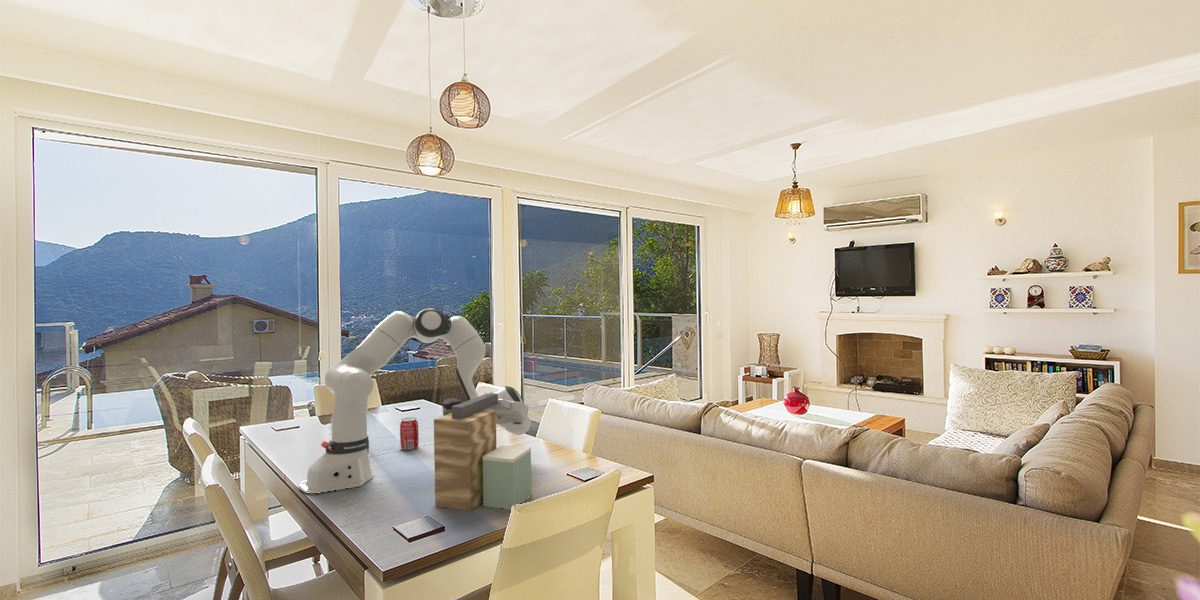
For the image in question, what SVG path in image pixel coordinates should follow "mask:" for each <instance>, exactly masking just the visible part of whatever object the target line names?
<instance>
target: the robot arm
mask: <svg viewBox="0 0 1200 600" xmlns="http://www.w3.org/2000/svg"><path fill="white" fill-rule="evenodd" d="M439 339H440V340H443V341H444V342H446V343H447V344H448V345H449V347H450V348H451V349H452V351H453V353H454V355H455V357H456V363H457V365H456V366H455V374H456V377H457V379H458V382H459V384H460V387H461V390H462V392H463V394H464V397H465V399H466V401H468V400H471V399H474V398H476V397H479V396H480V395H479V393H478V391H477V389H476V387H475V385H474V382H473V377H474V375H475V372H476V370H477V369H478V368H479V366H480V365H481V363H482V362H483V361H484V359H485V357H486V356H485V355H486V351H487V348H486V345H485V343H484V340H483V339H482V338H481V336H480V335H479V332H477V330H476V329H475V327H473V325H472V324H471V322H469V321H468V319H466V318H465V317H464V316H461V315H455V316H452V317H450V316H449V315H448V314H446V313H444V312H442V311H441V310H439V309H437V308H433V307H427V308H425V309H422V310H420V311H419V312H418V313H417V314H416V316H411V315H410V314H408V313H406V312H404V311H400V310H396V311H393V312H392V313H390V315H388V316H387V317H386V318H384V319H383V320H382V321H381V322H380V323H379V324H378V325H376V327H375V328H374V329H373V330H372V331H370V333H369V334H368V335H367V337H366V338H365V339H364V340H363V341H362V342H361V343H360V344H359V345H358V346H356V348H354V349H353V350H352V351H351V352H349V353H348V354H347V355H346V356H344V357H343V358H342V359H341V360H340V361H339V362H338V363H336V364H335V365H333V366H332V367H331V368H330V369H328V370H327V371H326V373H325V375H324V383H325V386H326V388H327V389H328V391H329V392H331V393H332V394H333V395H334V396H335V400H334V401H335V402H334V406H333V410H332V411H333V412H332V414H331V420H330V421H331V422H330V423H331V440H329V441H328V442H327V441H326V440H324V441H322V442H321V443H320V446H321V447H322V448H323V449H325V453H323V454H322V455H321V456H320V457H318V458H317V459H316V460H315V461H314V462H313V463H311V465H310V466H309V467H308V470H307V473H306V479H304V480H302V481H301V482H300V483H299V485H298V487H299V486H300V488H301V489H302V490H304V491H306V492H309V493H317V492H325V493H327V492H326V491H331V492H334V490H336V491H340V490H341V491H342V490H347V489H346V488H348V489H352V488H358V487H363V485H364V484H365V483H367V482H369V481H371V480H372V479H373V477H374V474H373V472H372V467H371V465H370V464H371V463H370V459H369V450H370V440H369V436H368V419H367V418H368V417H367V416H368V408H369V402H370V396H371V393H372V392H373V388H374V380H373V378H372V375H373V374H374V373H376V372H377V371H378V370H380V369H381V368H383V367H385V366H386V365H387V364H388V363H389V361H390V360H391V359H392V358H393V357H394V356H395V355H396V354H397V352H398V351H400V349H401V348H402V347H403V346H404V345H405V343H406V342H407V341H408V340H411V341H415V342H416V343H420V344H422V345H432V344H435V343H436V342H438V341H439ZM494 393H496V394H498V404H497V405H494V406H492V407H489V408H487V409H485V410H496V425H498V426H500V427H501V428H504V430H506V431H507V432H509V433H511V434H513V435H515V436H521V435H525V434H526V433H527V432H528V431H529V430H530V427H531V424H532V423H531V422H532V421H531V419H530V417H529V416H528V412H529V405H528V404H526V403H525V402H524V399H523V397H522V396H521V394H520V393H519V391H517V390H516V389H515V388H514V387H512V386H508V385H504V386H503V387H501V388H499V389H498V390H496V391H495V392H494ZM300 488H299V489H300Z"/></svg>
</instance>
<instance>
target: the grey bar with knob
mask: <svg viewBox="0 0 1200 600" xmlns="http://www.w3.org/2000/svg"><path fill="white" fill-rule="evenodd" d="M478 396H479V397H476V398H474V399H471V400H468V401H467V400H465V401H462V402H463V403H460V404H457V405H455V406H452V418H455V419H463V418H465V417H468V416H470V415H473V414H475V413H477V412H480V411H482V410H485V409H487V408H489V407H492V406H494V405H497V404H498V394H496V393H495V392H494V393H493V391H487V392H484V394H482V395H478Z"/></svg>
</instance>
